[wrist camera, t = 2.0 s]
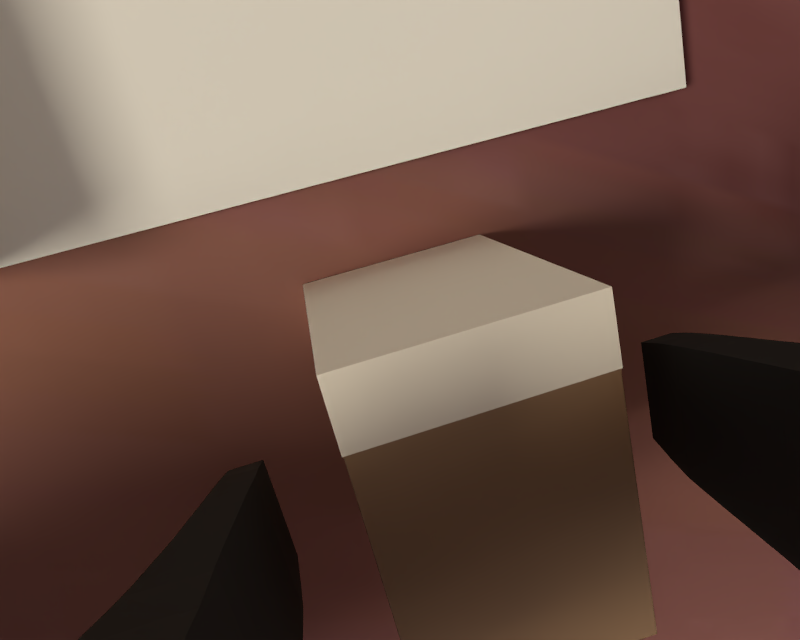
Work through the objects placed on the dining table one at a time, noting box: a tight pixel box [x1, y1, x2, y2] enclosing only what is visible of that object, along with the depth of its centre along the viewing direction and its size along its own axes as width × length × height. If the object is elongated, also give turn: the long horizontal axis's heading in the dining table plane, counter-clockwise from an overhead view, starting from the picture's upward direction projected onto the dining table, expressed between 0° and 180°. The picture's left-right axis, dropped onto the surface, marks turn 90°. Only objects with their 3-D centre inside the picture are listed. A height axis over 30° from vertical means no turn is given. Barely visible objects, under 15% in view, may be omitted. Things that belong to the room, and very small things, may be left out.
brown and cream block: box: [303, 235, 657, 640], centre depth 11 cm, size 6×4×6 cm, turn 14°
